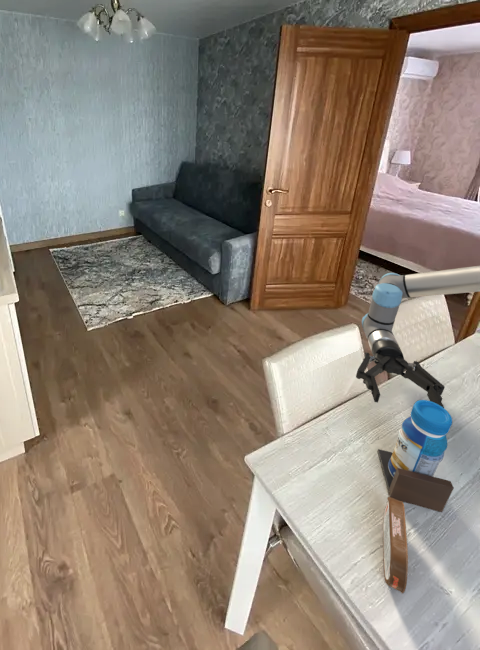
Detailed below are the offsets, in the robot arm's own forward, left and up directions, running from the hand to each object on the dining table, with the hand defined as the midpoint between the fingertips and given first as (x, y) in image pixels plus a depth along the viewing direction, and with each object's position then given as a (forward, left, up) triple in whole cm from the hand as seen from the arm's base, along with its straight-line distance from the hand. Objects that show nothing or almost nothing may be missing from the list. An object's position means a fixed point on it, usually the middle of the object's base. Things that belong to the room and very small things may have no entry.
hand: (408, 404), depth 84 cm
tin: (-23, +17, -13) cm, 31 cm away
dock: (-9, +3, -13) cm, 16 cm away
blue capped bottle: (-9, +3, -12) cm, 16 cm away
